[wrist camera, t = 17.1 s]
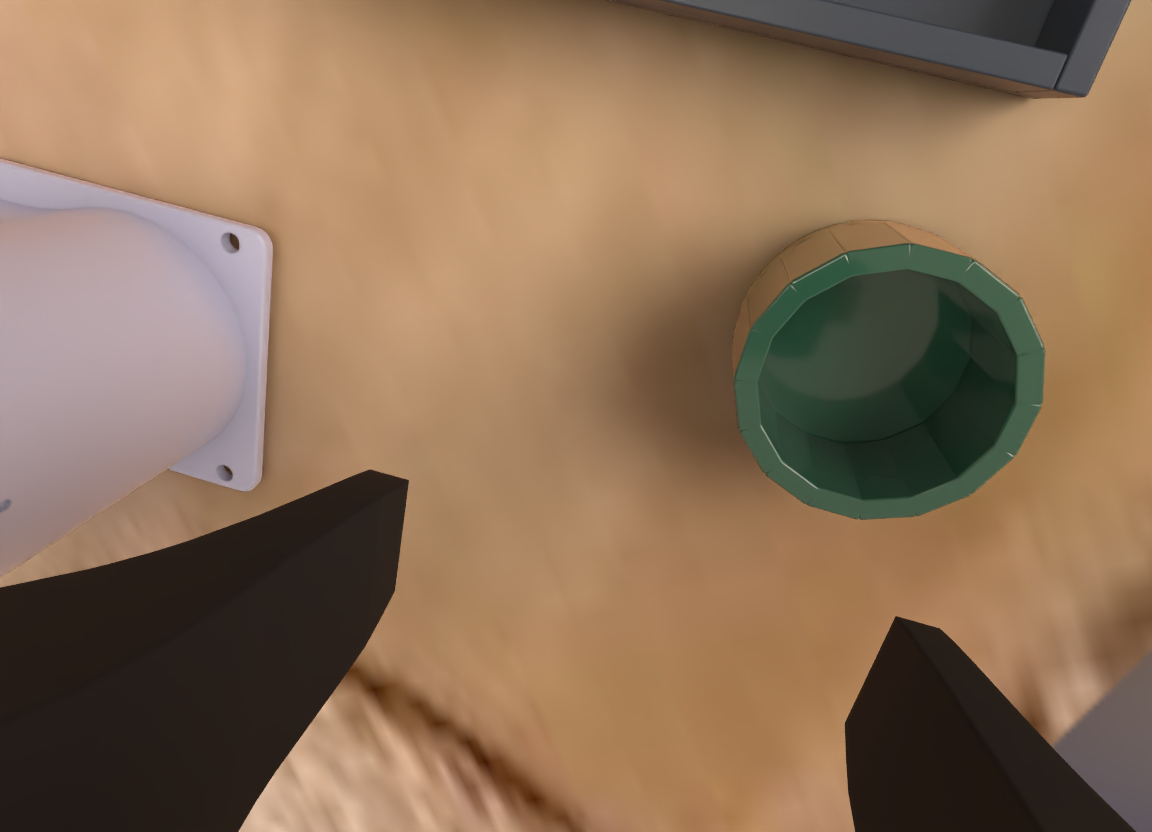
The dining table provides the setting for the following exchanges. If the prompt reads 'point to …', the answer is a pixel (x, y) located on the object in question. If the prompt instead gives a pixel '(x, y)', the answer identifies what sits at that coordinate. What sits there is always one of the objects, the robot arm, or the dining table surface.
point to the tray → (937, 35)
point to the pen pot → (883, 371)
